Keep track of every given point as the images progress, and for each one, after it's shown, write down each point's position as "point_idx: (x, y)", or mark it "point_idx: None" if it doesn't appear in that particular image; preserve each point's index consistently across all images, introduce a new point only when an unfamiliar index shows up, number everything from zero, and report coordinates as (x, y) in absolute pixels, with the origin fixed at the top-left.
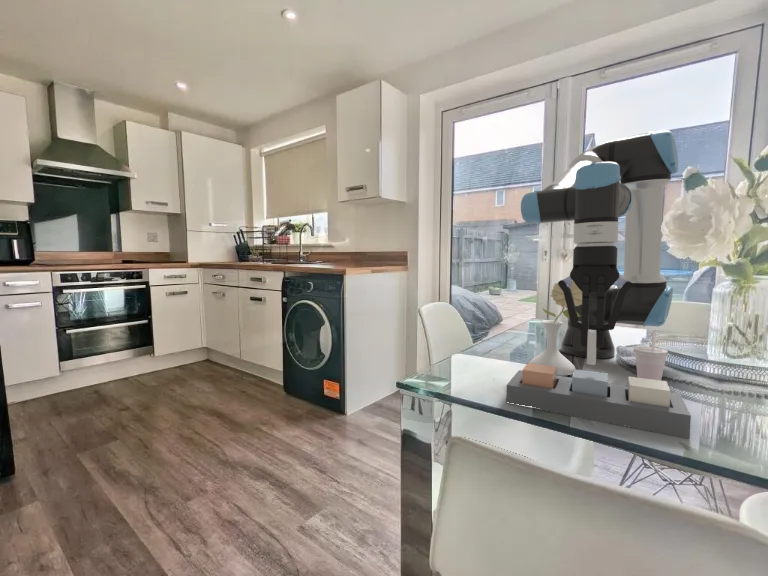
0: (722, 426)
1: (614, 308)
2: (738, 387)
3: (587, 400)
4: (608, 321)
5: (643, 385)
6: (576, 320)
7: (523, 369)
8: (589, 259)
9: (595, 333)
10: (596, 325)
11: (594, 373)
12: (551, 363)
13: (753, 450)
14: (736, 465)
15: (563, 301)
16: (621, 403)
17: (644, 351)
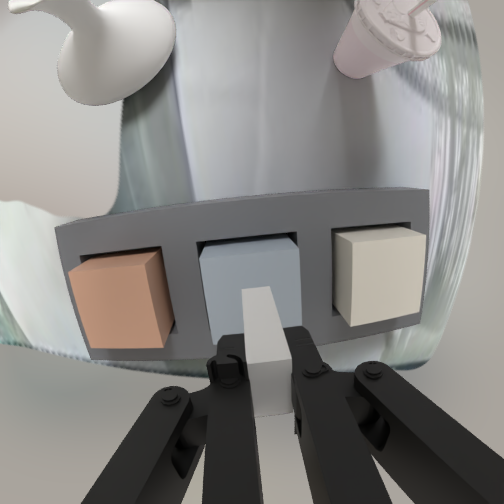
0: (447, 216)
1: (414, 492)
2: (452, 3)
3: None
4: (368, 399)
5: (378, 308)
6: (194, 461)
7: (91, 344)
8: None
9: (288, 410)
10: (298, 437)
11: (262, 272)
12: (106, 77)
13: (453, 290)
14: (422, 349)
15: None
16: (322, 341)
17: (398, 47)
